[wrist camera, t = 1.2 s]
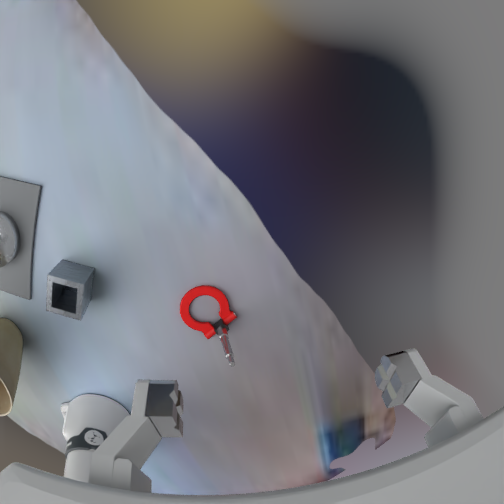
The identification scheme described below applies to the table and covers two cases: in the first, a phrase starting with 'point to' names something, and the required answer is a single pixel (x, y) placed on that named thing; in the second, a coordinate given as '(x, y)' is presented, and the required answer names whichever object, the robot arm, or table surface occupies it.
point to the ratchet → (8, 238)
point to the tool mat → (24, 213)
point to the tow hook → (206, 327)
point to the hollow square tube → (66, 299)
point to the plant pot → (9, 363)
